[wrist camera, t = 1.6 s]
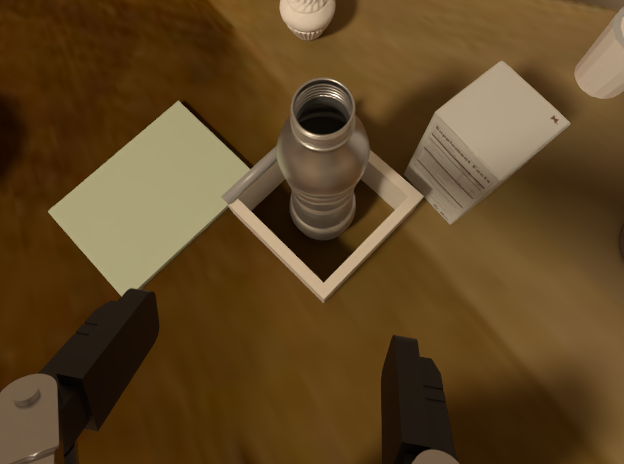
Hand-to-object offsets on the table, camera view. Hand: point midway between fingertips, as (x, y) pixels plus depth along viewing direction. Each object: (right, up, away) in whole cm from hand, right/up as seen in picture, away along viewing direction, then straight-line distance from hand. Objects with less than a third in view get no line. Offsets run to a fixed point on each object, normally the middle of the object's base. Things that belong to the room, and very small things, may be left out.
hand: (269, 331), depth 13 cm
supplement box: (+16, +9, +28) cm, 34 cm away
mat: (-15, +7, +28) cm, 33 cm away
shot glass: (+34, +21, +31) cm, 50 cm away
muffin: (+1, +27, +33) cm, 43 cm away
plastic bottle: (+3, +5, +28) cm, 28 cm away
